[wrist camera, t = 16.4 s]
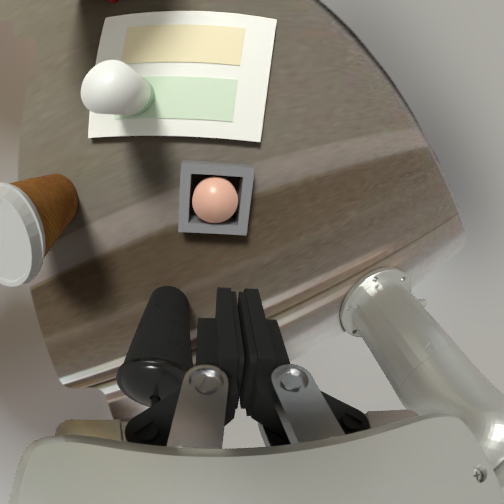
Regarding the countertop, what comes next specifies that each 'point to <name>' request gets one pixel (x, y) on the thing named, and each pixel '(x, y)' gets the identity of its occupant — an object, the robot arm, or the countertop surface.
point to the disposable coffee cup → (32, 223)
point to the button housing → (224, 169)
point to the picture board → (191, 73)
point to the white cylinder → (116, 90)
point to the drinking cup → (158, 349)
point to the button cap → (214, 199)
